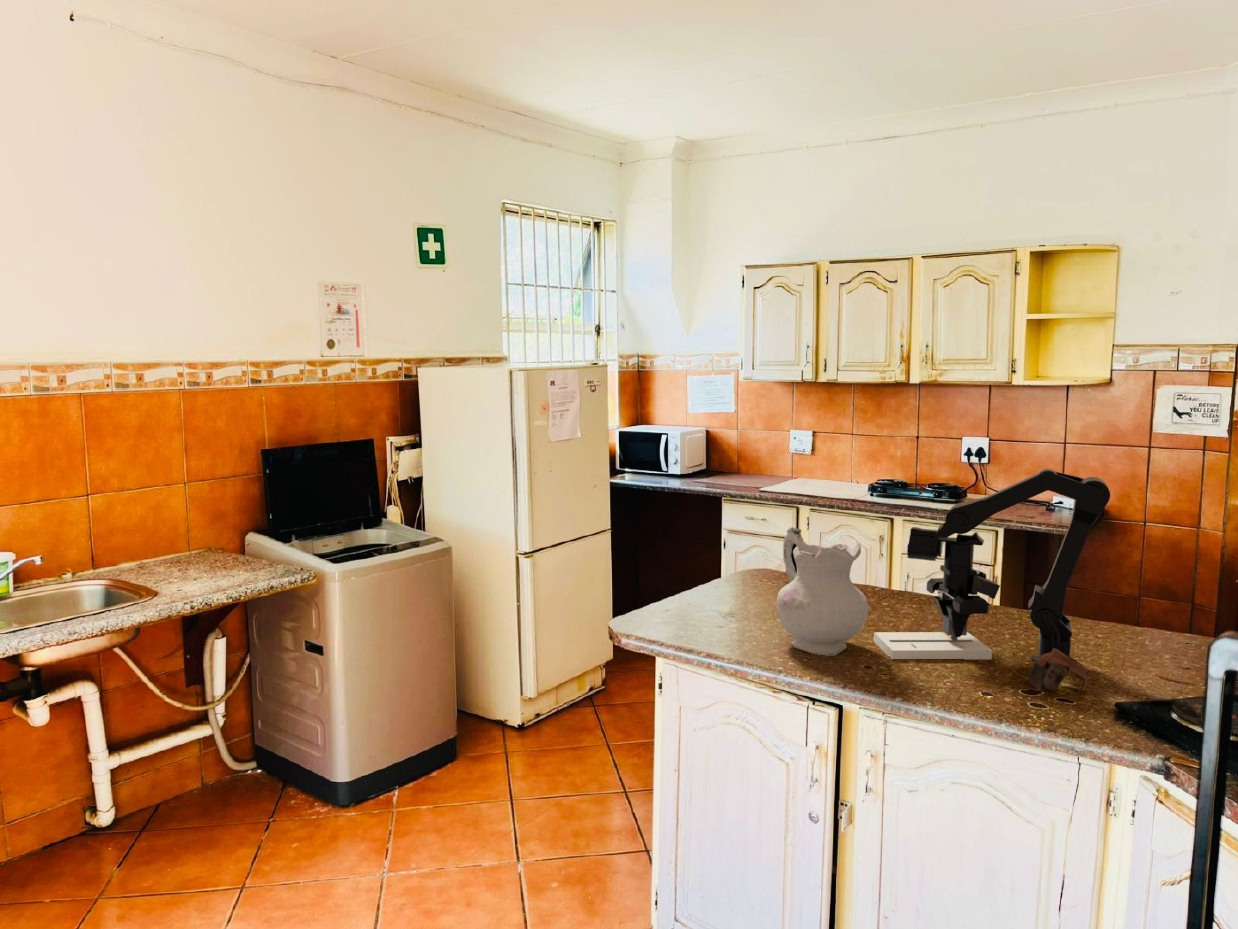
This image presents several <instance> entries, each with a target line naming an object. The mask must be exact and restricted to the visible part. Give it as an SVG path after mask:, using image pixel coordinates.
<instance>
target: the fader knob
mask: <svg viewBox="0 0 1238 929" xmlns="http://www.w3.org/2000/svg"><path fill="white" fill-rule="evenodd" d="M941 632H944V633H945V634H947V635H948V636H951V639H952V640H957V637H955V635H954V632H953V628H952V625H951V621H950V617H949V615H943V616H942V630H941ZM967 632H968V621H967V622H966V625H965V627H964V630H963V632H962V634H961V635H967Z"/></svg>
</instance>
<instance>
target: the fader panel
mask: <svg viewBox="0 0 1238 929" xmlns="http://www.w3.org/2000/svg"><path fill="white" fill-rule="evenodd" d="M873 642H874V643H875V644H876V645H877V646H878V647H879V649H880V650H882V652H884V653H885V655H886V656H888V657H889V656H890V657H891V658H890V657H889V658H890V660H892V659H964V660H992V659H993V658H992V657H993V656H992V655H993V649H991V648H990V647H988V646H987V645H986V644H984V643H983V642H982V641H980V640H979V639H977V637H975V636H973V635H972V634H970V632H968V631H967V635H961V637H957V640H952V639H951V636H948V635H947V634H945V633H944V632H943V631H931V632H930V631H929V632H928V631H926V632H925V631H922V632H920V631H919V632H917V631H915V632H914V631H913V632H912V631H910V632H909V631H907V632H906V631H903V632H901V631H899V632H897V631H895V632H894V631H893V632H886V631H885V632H881V631H880V632H877V631H876V632H873Z"/></svg>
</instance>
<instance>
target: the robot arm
mask: <svg viewBox="0 0 1238 929" xmlns="http://www.w3.org/2000/svg"><path fill="white" fill-rule="evenodd" d="M1048 491H1049V492H1052V493H1055V494H1059V496H1060V495H1061V496H1063V497H1066V498H1069V499H1072V500H1074V501H1073V508H1072V513H1071V515H1072V516H1071V519H1070V522H1069V525H1068V526H1067V530H1066V532H1065V535H1064V537H1063V539H1062V542H1061V545H1060V548H1059V550H1058V552H1057V555H1056V558H1055V560H1054V563H1053V565H1052V568H1051V570H1050V573H1049V576H1048V578H1047V580H1046V581H1045V583H1044V584H1043V586H1039V585H1037V584H1035V585H1034V590H1033V595H1032V596H1031V598H1029V600H1028V604H1027V605H1028V607H1027V609H1028V610H1029V615H1030V616H1029V617H1030V621H1031V623H1032V624H1033V625H1034V627H1036V628H1037V629H1039V637H1038V653H1037V655H1031V656H1030V659H1031V660H1032V661H1034V663H1035V662H1036V661H1037V660H1038V658H1039V657H1040V656H1041V655H1043V654H1046V653H1051V651H1052V650H1053V648H1055V649H1058V650H1060V651H1062V652H1063V653H1065V654H1067V655H1068V656H1070V657H1071V645H1072V643H1071V642H1072V636H1073V627H1072V620H1070V619H1069V618H1068V617H1067V616H1066V615H1065V614H1064V608H1065V602H1066V593H1067V588H1068V587H1069V583H1070V582H1071V579H1072V576H1073V574H1074V571H1075V569H1076V565H1077V563H1078V562H1079V561H1078V560H1079V559H1080V557H1081V554H1082V551H1083V548H1084V546H1085V543H1086V541H1087V539H1088V537H1089V533H1090V531H1091V529H1092V527H1093V525H1094V524H1095V522H1096V521H1097V519H1099V517H1101V514H1102V513H1103V511H1104V510H1105V508H1106V506H1107V505H1108V504H1109V502H1110V500H1111V491H1110V489H1109V486H1108V485H1107V483H1106V482H1105V481H1104V480H1103V479H1102V478H1099V477H1096V476H1090V477H1086V478H1082V477H1079V476H1077V475H1076V476H1075V475H1071V474H1066V473H1063V472H1058V471H1055V470H1054V469H1051V468H1045V469H1042V470H1040V471H1039V472H1038V473H1036V474H1034V475H1032V476H1029V477H1026V478H1024V479H1023V480H1020V481H1018V482H1015V483H1013V484H1012V485H1009V486H1007V487H1005V488H1002V489H1001V490H998V491H996V492H993V493H991V494H989V495H987V496H984V497H981V498H975V499H971V500H970V499H969V500H966V501H963V502H959V503H957V504H954V505H953V506H951V507H950V509H949V510H948V511H947V513H946V516H945V521H944V523H942V524H940V525H939V526H938V528H937V529H930V528H929V529H927V528H920V527H914V526H912V527H911V528H910V531H909V532H910V535H909V539H908V543H907V548H906V550H907V551H906V552H907V554H906V555H907V558H908V559H912V560H913V559H914V560H923V561H932V562H935V561H936V560H937V559H938V558H941V557H942V554H943V544H944V557H943V558H944V561H943V564H942V565H940V566H939V567H940V568H939V570H940V571H941V572H943V577H940V578H938V577H937V578H934V577H933V578H929V580H927V582H926V591H927V592H928V593H930V594H934V593H935V592H936V591H937V596H933V599H934V600H935V602H936V604H937V607H938V609H939V611H940V614H941V616H942V617H943V615H949V617H950V621H951V625H952V628H953V632H954V635H955V637H961V634H962V632H963V630H964V627H965V625H966V622H967V623H968V620H969V618H970V616H972V615H974V614H975V615H977V614H978V615H989V613H990V606H991V605H990V603H989V602H988V601H987V600H986V599H985V598H983V597H982V596H980V595H978V593H979V594H982V595H983V596H987V597H989V598H990V599H993V600H995V598H996V597H997V594H998V593H999V589H1000V587H1001V585H1000V584H999V583H997V582H995V581H992V580H991V579H989V578H987V574H986V573H985V572H983V571H981V570H978V569H977V570H975V569H974V552H975V550H974V549H975V546H983V545H984V542H985V540H984V539H983V538H982V537H981V536H980V535H979V533H978V532H977V531H975V532H973V533H972V534H970V535H968V533H970V532H971V531H972V530H973V529H975V528H976V527H978V526H980V525H981V524H982V523H984V522H985V521H986V520H987V519H989V518H991V517H993V515H995V514H997V513H1000V512H1002V511H1004V510H1007V509H1009V508H1011V507H1014V506H1015V505H1017V504H1020V503H1022V502H1025V501H1027V500H1029V499H1031V498H1033V497H1036V496H1038V495H1040V494H1042V493H1045V492H1048ZM955 534H956V537H951V536H953V535H955ZM1046 668H1047V669H1049V664H1047V667H1046Z"/></svg>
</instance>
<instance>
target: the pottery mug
mask: <svg viewBox="0 0 1238 929" xmlns="http://www.w3.org/2000/svg"><path fill="white" fill-rule="evenodd" d="M1047 664H1049V669H1047V668H1046V667H1047ZM1068 671H1069V672H1072V673H1073V674H1074V675H1075V676H1076V677H1078V678H1079V679H1081V681H1082V683H1083V684H1082V685H1081V688H1080V692H1085V689H1086V687H1087V682H1088V680H1087V679H1088V678H1087V675H1088V673H1089V672H1090V670H1089V669H1088V668H1087V667H1086V666H1085V665H1083V664H1082V663H1080V662H1078V661H1077V660H1076V659H1075V658H1073V657H1071V655H1070V656H1068V655H1067V654H1065V653H1063V652H1062V651H1060V650H1058V649H1055V648H1053V650H1052V651H1051V653H1046V654H1043V655H1041V656H1040V657H1039V658H1038V660H1037V661H1036V662H1035V661H1034V663H1033V665H1032V667H1031V669H1030V672H1029V676H1028V679H1027V681H1028V682H1029V684H1031V686H1032V687H1034V688H1035V689H1037V690H1038V689H1039V690H1038V691H1041V690H1042V688H1043V686H1044V687H1045V688H1046V689H1047V690H1052V691H1057V690H1058V688H1059V687H1060V685H1061V683H1062V682H1063V681H1064V678H1066V677H1067V675H1068V674H1067V672H1068Z"/></svg>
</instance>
